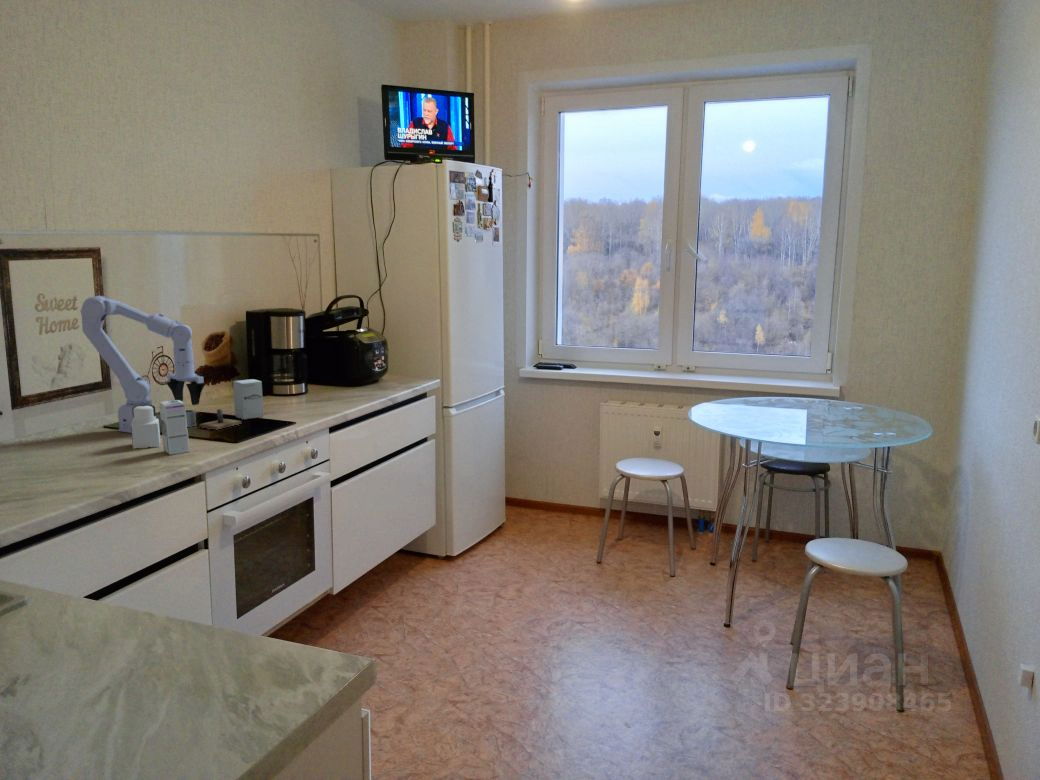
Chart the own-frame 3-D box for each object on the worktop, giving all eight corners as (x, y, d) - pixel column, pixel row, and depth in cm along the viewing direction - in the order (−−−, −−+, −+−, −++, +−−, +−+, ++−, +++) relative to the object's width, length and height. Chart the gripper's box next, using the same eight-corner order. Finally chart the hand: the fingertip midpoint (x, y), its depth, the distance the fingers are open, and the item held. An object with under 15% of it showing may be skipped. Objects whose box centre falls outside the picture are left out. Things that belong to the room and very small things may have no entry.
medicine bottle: (134, 443, 230) (130, 404, 228) (160, 441, 233) (157, 402, 231) (132, 449, 224) (129, 408, 221) (159, 446, 226) (156, 406, 224)
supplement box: (243, 420, 262) (240, 383, 260) (234, 416, 268) (232, 380, 266) (264, 417, 267) (262, 380, 265) (255, 413, 273) (253, 378, 270)
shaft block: (217, 430, 247) (215, 413, 246) (199, 427, 251) (198, 411, 250) (241, 424, 256) (240, 408, 255) (224, 422, 259) (223, 405, 258)
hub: (187, 428, 250) (186, 413, 249) (179, 426, 252) (177, 411, 251) (198, 425, 254) (197, 410, 253) (189, 424, 256) (188, 409, 255)
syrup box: (190, 452, 221) (186, 402, 218) (168, 455, 217) (164, 404, 214) (184, 448, 225) (180, 399, 222) (162, 451, 221) (158, 401, 219)
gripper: (210, 361, 249) (213, 403, 252) (179, 359, 256) (182, 399, 258) (191, 364, 243) (195, 407, 246) (160, 361, 250) (164, 403, 252)
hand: (187, 403), depth 252 cm, fingers open, 7 cm apart
